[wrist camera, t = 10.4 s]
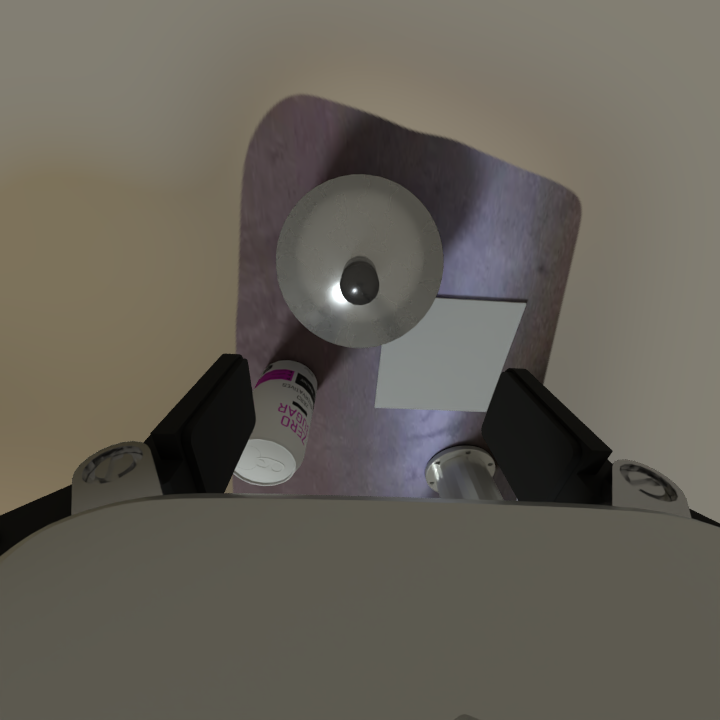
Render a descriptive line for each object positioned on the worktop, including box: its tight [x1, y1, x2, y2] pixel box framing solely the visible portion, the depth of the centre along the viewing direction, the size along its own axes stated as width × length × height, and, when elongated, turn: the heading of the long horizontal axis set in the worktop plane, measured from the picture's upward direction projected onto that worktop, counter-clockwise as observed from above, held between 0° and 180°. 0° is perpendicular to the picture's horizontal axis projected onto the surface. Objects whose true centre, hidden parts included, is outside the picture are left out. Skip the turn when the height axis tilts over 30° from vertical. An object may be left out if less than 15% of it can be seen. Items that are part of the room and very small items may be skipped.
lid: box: [276, 174, 443, 348], centre depth 25 cm, size 16×16×6 cm
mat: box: [375, 297, 526, 412], centre depth 40 cm, size 18×18×1 cm
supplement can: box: [233, 360, 317, 486], centre depth 35 cm, size 8×8×15 cm
